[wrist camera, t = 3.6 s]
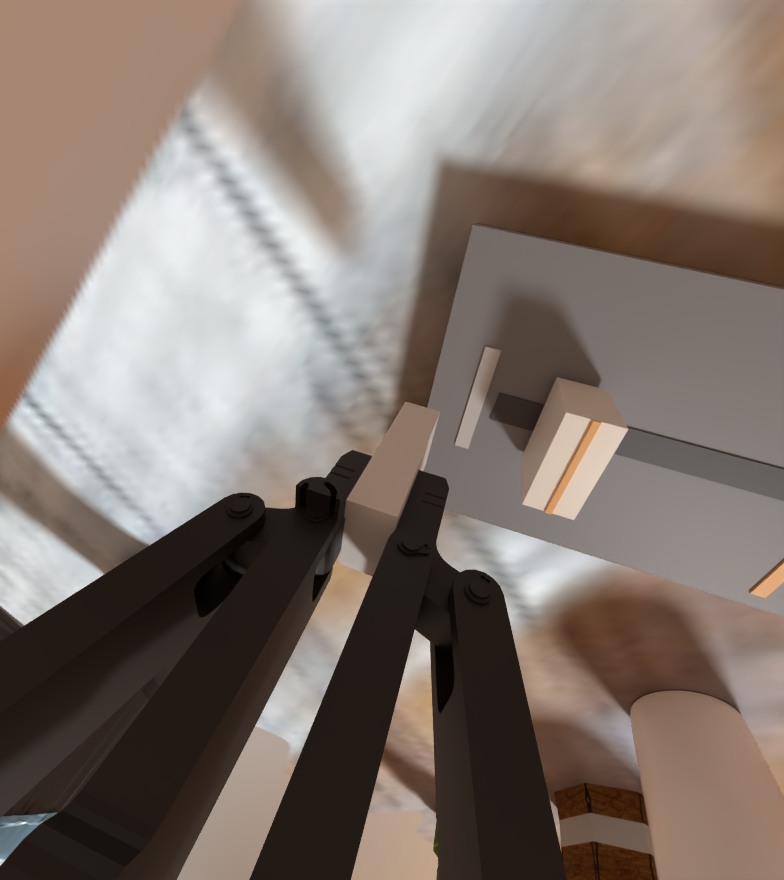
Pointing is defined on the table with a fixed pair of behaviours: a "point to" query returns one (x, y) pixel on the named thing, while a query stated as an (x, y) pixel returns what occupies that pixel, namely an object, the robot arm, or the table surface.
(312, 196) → the table surface
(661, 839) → the candle holder
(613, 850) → the mug
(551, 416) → the fader
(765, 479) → the panel
